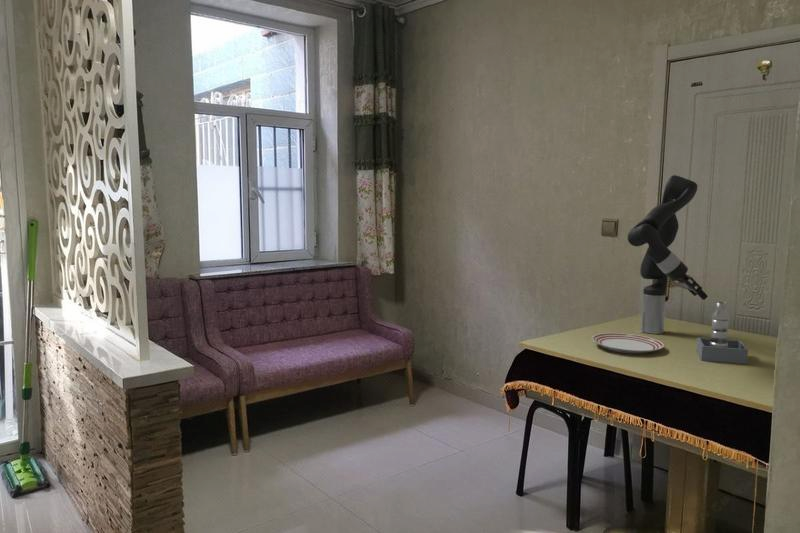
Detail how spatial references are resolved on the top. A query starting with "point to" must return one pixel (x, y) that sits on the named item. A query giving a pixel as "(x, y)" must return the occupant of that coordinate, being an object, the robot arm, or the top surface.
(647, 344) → the dinner plate
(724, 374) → the top surface
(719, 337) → the plastic bottle
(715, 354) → the tray
